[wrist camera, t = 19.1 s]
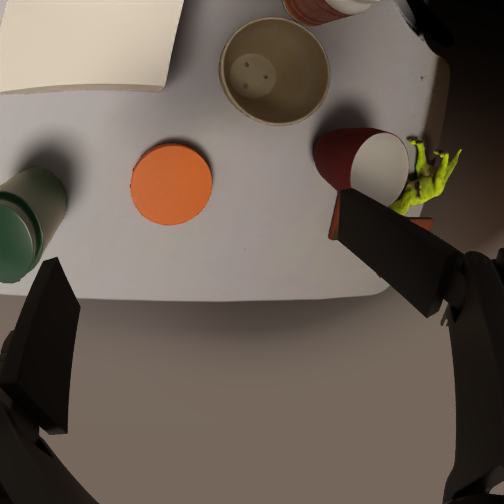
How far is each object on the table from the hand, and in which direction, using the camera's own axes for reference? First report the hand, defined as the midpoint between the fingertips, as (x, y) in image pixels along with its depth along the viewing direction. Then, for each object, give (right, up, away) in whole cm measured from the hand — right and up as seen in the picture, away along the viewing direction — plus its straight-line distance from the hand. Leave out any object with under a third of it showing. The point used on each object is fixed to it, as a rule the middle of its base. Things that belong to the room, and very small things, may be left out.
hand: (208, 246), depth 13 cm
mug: (+12, +12, +22) cm, 28 cm away
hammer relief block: (-12, +26, +4) cm, 29 cm away
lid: (-6, +6, +16) cm, 18 cm away
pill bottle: (+8, +28, +12) cm, 31 cm away
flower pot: (+2, +18, +15) cm, 23 cm away
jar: (-21, +5, +12) cm, 25 cm away
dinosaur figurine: (+28, +17, +26) cm, 42 cm away
